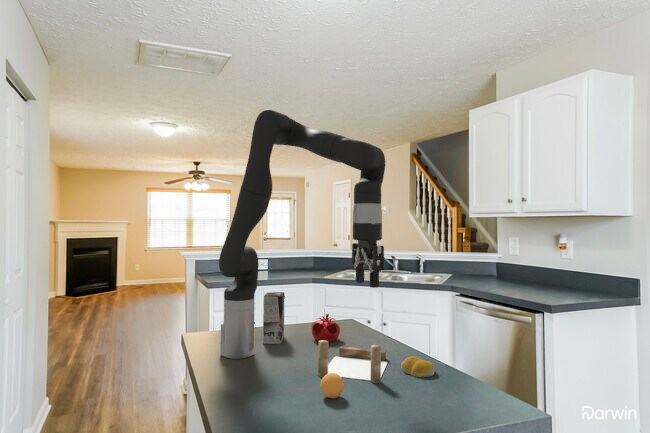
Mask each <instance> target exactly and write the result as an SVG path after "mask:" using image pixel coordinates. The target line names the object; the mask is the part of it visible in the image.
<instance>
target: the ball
mask: <svg viewBox="0 0 650 433" xmlns="http://www.w3.org/2000/svg"><path fill="white" fill-rule="evenodd" d="M321 378H322V379H321V381H320V390H321V393H322V394H323V395H324V396H325V397H327V398H328V399H336V398H338V397H340V396H341V395H342V393H343V392H344V389H345V384H344V383H345V382H344V380H343V378H342V377H340V376H339V375H338V374H336V373H329V374H326V375H325V376H324V377H321Z"/></svg>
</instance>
